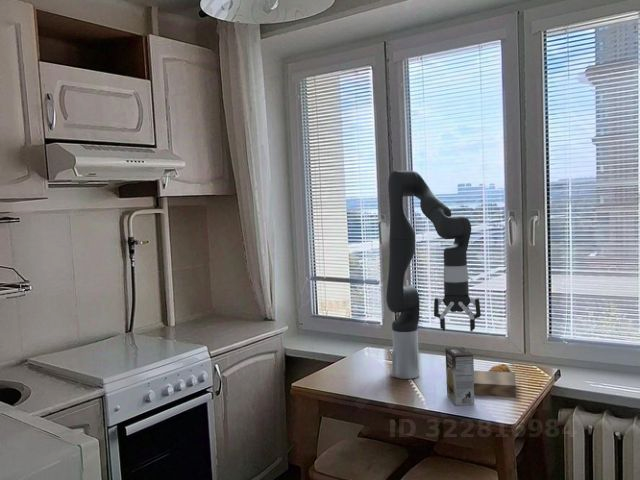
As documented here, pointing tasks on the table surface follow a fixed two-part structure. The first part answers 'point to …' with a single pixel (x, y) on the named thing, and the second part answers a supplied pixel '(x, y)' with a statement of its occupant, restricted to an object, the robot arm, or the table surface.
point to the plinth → (494, 384)
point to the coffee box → (460, 376)
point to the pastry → (500, 368)
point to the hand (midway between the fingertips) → (457, 330)
